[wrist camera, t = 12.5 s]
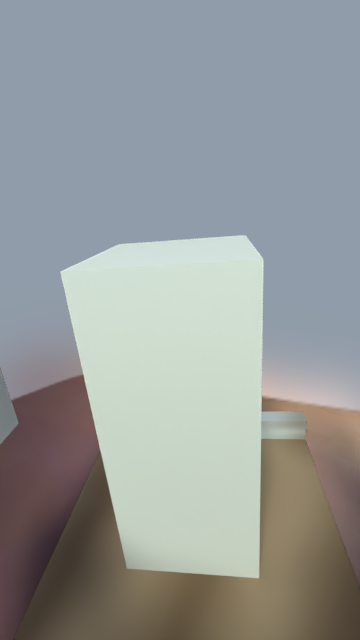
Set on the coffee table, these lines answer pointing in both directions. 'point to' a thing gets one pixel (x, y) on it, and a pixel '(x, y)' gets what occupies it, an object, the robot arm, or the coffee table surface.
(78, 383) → the coffee table surface
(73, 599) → the brown slab
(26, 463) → the coffee table surface
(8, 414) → the robot arm
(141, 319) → the carton
